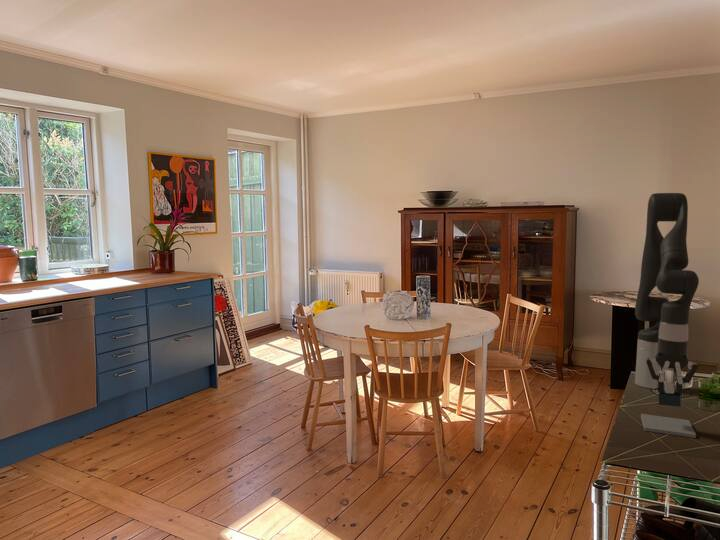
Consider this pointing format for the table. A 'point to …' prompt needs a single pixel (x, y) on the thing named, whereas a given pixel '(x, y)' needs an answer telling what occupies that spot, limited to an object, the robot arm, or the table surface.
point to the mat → (667, 425)
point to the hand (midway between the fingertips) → (669, 394)
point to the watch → (670, 390)
